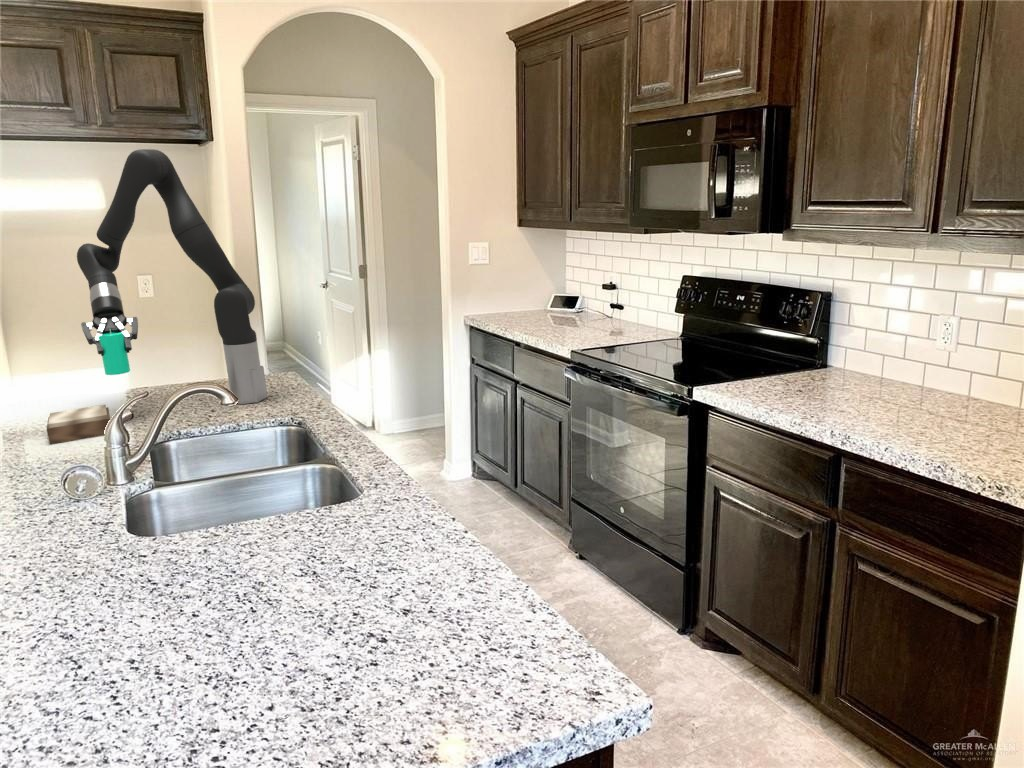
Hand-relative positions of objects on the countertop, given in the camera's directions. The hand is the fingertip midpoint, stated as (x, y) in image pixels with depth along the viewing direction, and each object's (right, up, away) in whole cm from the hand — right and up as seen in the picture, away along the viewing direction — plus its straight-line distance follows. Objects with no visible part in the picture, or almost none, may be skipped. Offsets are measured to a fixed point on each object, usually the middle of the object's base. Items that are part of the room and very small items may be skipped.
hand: (115, 352), depth 200 cm
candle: (-1, -5, +3) cm, 6 cm away
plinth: (-7, -21, -3) cm, 22 cm away
